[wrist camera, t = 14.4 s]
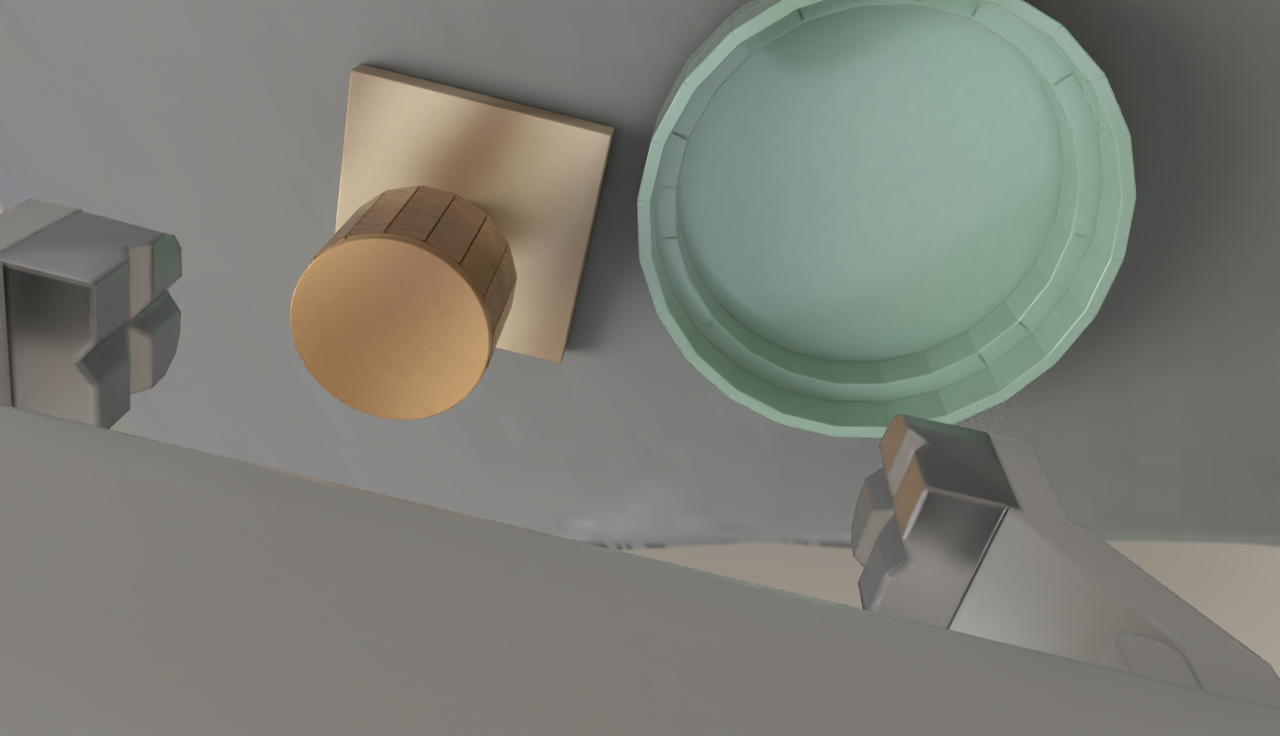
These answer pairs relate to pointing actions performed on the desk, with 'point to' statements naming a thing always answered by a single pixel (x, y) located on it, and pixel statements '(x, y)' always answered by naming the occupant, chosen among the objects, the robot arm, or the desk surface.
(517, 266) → the ball stand
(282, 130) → the desk surface
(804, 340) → the bowl
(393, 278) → the wood cap
